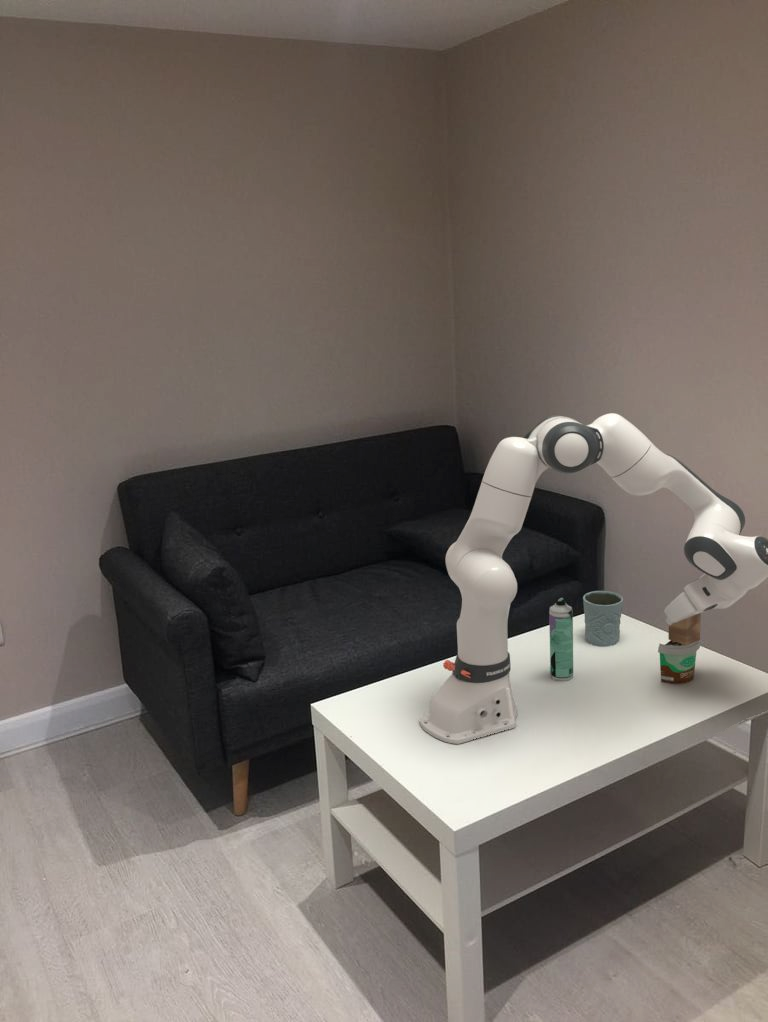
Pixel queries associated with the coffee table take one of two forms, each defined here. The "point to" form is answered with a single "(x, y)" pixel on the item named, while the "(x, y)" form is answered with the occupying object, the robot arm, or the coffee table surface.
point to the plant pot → (602, 617)
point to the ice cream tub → (677, 662)
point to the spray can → (561, 641)
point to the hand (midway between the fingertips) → (682, 616)
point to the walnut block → (686, 630)
